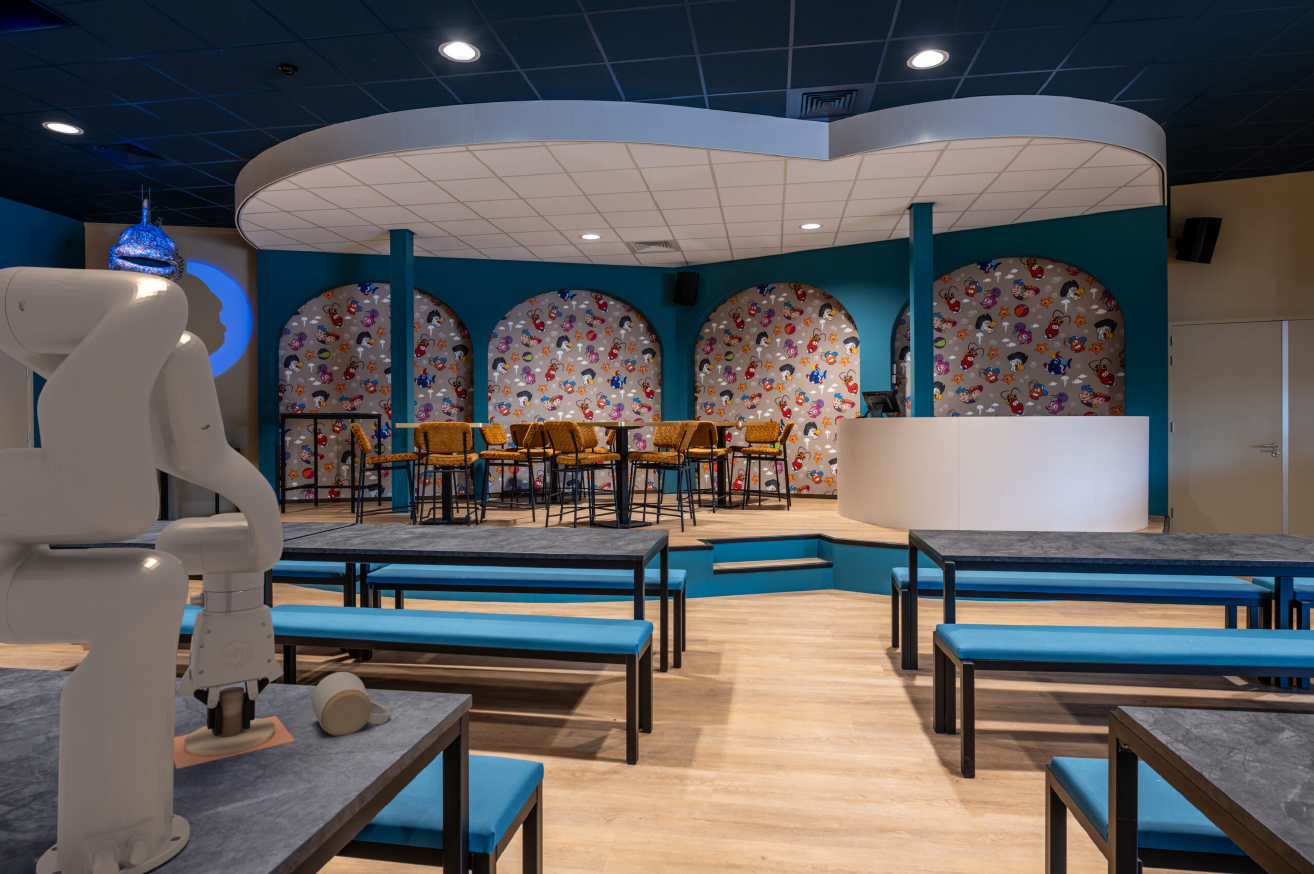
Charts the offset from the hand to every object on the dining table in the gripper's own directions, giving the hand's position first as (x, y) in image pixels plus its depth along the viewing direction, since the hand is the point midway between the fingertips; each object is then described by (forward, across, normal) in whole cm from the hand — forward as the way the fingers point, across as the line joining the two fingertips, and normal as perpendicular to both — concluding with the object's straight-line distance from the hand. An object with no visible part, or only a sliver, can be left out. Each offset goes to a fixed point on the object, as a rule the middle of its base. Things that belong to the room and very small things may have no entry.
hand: (230, 728), depth 100 cm
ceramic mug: (+2, +15, -4) cm, 16 cm away
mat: (+2, 0, 0) cm, 2 cm away
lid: (+2, 0, 0) cm, 2 cm away
